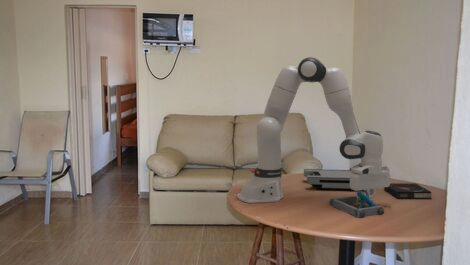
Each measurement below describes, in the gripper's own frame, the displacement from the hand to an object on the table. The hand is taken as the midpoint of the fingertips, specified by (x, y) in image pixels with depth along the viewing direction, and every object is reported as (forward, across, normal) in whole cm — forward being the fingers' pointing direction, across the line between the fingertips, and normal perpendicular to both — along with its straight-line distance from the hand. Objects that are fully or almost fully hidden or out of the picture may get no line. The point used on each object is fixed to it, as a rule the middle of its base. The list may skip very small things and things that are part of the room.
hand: (369, 198), depth 190 cm
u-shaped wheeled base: (+4, +7, 0) cm, 8 cm away
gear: (+4, +2, 0) cm, 5 cm away
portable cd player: (+5, -32, -10) cm, 34 cm away
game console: (+5, -10, -37) cm, 38 cm away
